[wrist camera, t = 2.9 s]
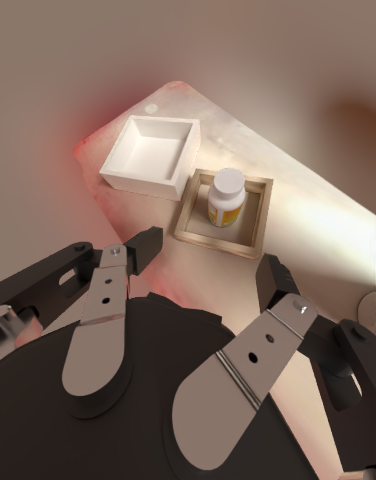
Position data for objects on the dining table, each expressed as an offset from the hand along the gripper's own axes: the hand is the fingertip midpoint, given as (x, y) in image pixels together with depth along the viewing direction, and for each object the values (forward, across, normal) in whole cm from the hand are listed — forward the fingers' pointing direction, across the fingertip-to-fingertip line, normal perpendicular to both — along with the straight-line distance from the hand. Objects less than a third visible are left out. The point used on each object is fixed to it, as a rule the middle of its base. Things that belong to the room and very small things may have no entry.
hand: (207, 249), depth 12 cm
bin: (+24, +17, -4) cm, 30 cm away
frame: (+18, 0, +3) cm, 18 cm away
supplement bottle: (+18, 0, +3) cm, 18 cm away
